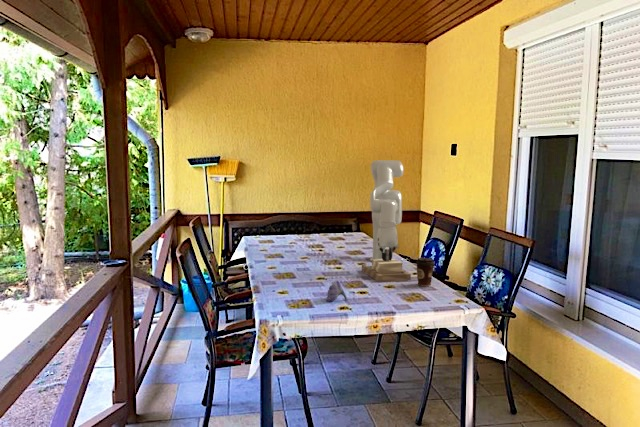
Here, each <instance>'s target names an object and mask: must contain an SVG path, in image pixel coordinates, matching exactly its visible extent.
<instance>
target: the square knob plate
mask: <svg viewBox="0 0 640 427" xmlns="http://www.w3.org/2000/svg"><path fill="white" fill-rule="evenodd" d="M385 253H386V261H384V260H382V259H372V261H371V266H372V269H373V270H375V271H376V272H378V273H380V274H381V275H383V274H402V270H403V262H401V261H399V260H397V259H395V258H393V257H392V259H391V261H390V260H389V249H385Z"/></svg>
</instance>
